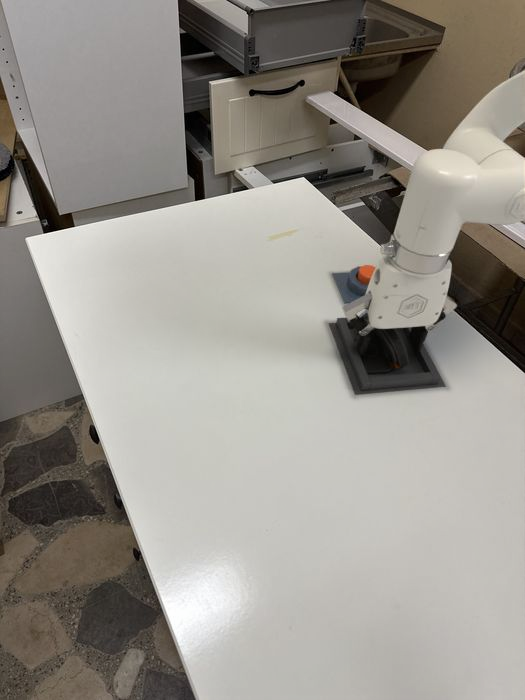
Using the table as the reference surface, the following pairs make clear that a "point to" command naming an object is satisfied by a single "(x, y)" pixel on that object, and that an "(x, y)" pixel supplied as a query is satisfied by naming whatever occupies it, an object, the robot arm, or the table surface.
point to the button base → (350, 285)
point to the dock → (408, 378)
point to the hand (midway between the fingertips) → (387, 345)
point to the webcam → (384, 351)
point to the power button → (365, 274)
